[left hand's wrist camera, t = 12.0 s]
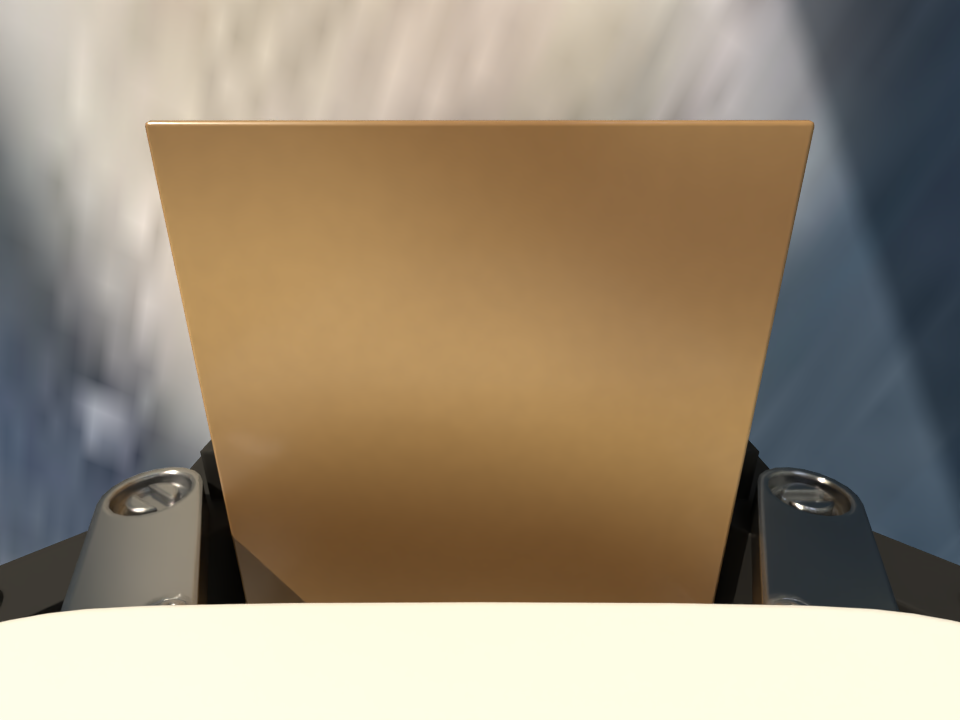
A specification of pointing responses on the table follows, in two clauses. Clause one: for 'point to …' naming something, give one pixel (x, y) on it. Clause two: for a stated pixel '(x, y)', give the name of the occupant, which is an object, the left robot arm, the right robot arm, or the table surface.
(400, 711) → the left robot arm
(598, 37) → the table surface
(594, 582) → the post
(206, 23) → the table surface
